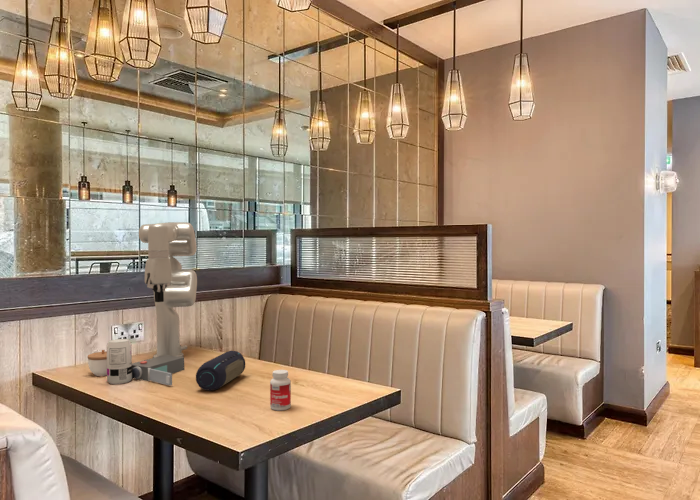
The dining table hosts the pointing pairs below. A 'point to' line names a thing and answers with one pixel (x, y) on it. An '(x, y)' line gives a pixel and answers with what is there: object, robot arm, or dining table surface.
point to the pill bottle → (280, 390)
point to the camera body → (157, 366)
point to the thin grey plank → (161, 377)
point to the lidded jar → (98, 363)
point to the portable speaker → (220, 370)
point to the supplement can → (119, 361)
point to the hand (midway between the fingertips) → (159, 301)
